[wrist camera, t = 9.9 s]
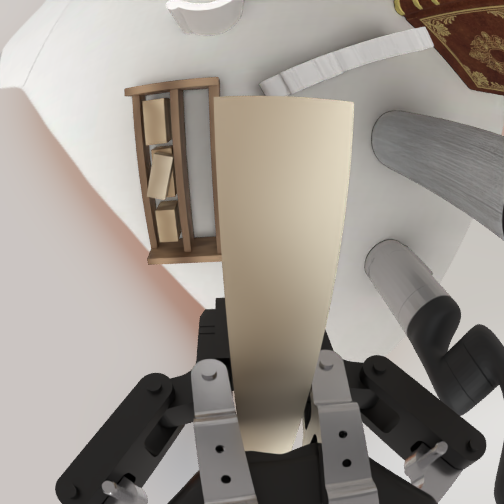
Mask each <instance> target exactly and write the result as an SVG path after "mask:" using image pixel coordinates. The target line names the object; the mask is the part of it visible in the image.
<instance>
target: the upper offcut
mask: <svg viewBox="0 0 504 504" xmlns="http://www.w3.org/2000/svg"><path fill="white" fill-rule="evenodd" d="M173 165H174V154H169V153H164V152H158V151H157V152H156V153H154V156H153V161H152V167H151V173H150V179H149V185H148V191H147V197H152V198H157V199H162V200H165V199H166V197H167V196H168V190H169V185H170V180H171V174H172V169H173Z"/></svg>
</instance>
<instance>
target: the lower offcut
mask: <svg viewBox="0 0 504 504" xmlns="http://www.w3.org/2000/svg"><path fill="white" fill-rule="evenodd" d="M157 151H158V152H164V153H169V154H174V152H173V145H171V146H161V147H155V148H154V149H152V150H151V152H152V161H153V156H154V153H156V152H157ZM176 194H177V186H176V175H175V164H174V165H173V169H172V174H171V180H170V185H169V190H168V196H167V197H175V196H176Z"/></svg>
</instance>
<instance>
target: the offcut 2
mask: <svg viewBox="0 0 504 504" xmlns="http://www.w3.org/2000/svg"><path fill="white" fill-rule="evenodd" d="M155 213H156V220H157V227H158V233H159V239H160V242H175V241H178V240H179V237H180V234H181V230H182V229H181V221H180V213H179V204H178V200H175V201H161V202H160V204H159V205H158V207H157V209H156V210H155Z"/></svg>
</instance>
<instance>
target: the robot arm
mask: <svg viewBox="0 0 504 504" xmlns="http://www.w3.org/2000/svg"><path fill="white" fill-rule="evenodd" d="M365 272H366V274H367V276H368V277H369V278H370V280H371V281H372V283H373V284H374V286H375V287H376V289H377V290H378V292H379V293H380V295H381V296H382V298H383V299H384V301H385V302H386V304H387V305H388V307H389V308H390V310H391V312H392V313H393V315H394V316H395V318H396V319H397V321H398V322H399V324H400V325H401V327H402V329H403V330H404V332H405V334H406V335H407V337H408V338H409V340H410V341H411V343H412V345H413V347H414V349H415V351H416V353H417V355H418V357H419V358H420V360H421V362H422V364H423V366H424V368H425V370H426V372H427V374H428V376H429V379H430V381H431V383H432V385H433V387H434V389H435V391H436V393H437V396H438V397H439V399H440V400H439V399H438V398H437V397H435V396H434V395H433V394H432V393H430V392H429V391H428V390H427V389H425V388H424V387H423V386H422V385H420V384H419V383H418V382H417V381H415V380H414V379H413V378H412V377H410V376H409V375H408V374H407V373H405V372H404V371H403V370H402V369H400V368H399V367H398V366H397V365H395V364H394V363H393V362H392V361H390V360H389V359H387V358H386V357H384V356H380V355H374V356H371V357H369V358H367V359H366V360H365V362H364V363H359V362H350V361H346V360H343V359H342V358H341V356H340V355H339V354H337V353H336V352H334V351H333V348H332V346H331V343H330V340H329V338H328V335H327V333H326V330H325V332H324V336H323V341H322V345H321V349H320V353H319V357H318V361H317V365H316V369H315V373H314V377H313V381H312V384H311V388H310V392H309V395H308V399H307V402H306V406H305V409H304V412H303V416H302V419H303V443H302V447H300V448H297V449H295V450H292V451H289V452H287V453H284V454H274V453H265V452H258V451H245V450H244V445H243V441H242V437H241V432H240V427H239V423H238V418H237V414H236V412H235V407H234V402H233V395H232V391H234V385H233V376H232V367H231V357H230V347H229V337H228V326H227V315H226V304H225V298H216V308H215V309H206V310H205V311H204V312H203V313H202V315H201V316H200V322H199V335H198V347H197V361H196V364H195V366H194V367H193V369H192V370H191V371H190V372H188V373H186V374H184V375H182V376H179V377H175V378H171V379H170V378H169V377H167V376H166V375H164V374H161V373H151V374H148V375H146V376H144V378H142V379H141V380H140V381H139V382H138V384H137V385H136V386H135V387H134V389H133V390H132V391H131V392H130V393H129V395H128V396H127V397H126V398H125V399H124V401H123V402H122V403H121V404H120V405H119V407H118V408H117V409H116V410H115V411H114V413H113V414H112V415H111V416H110V417H109V419H108V420H107V421H106V422H105V424H104V425H103V426H102V427H101V428H100V429H99V431H98V432H97V433H96V434H95V436H94V437H93V438H92V439H91V440H90V441H89V443H88V444H87V445H86V446H85V448H84V449H83V450H82V451H81V452H80V454H79V455H78V456H77V457H76V459H75V460H74V461H73V462H72V463H71V465H70V466H69V467H68V468H67V469H66V471H65V472H64V473H63V474H62V475H61V477H60V478H59V479H58V481H57V483H56V487H55V490H56V495H57V497H58V499H59V500H60V502H61V503H62V504H147V503H148V499H147V495H146V493H145V491H144V490H143V489H142V487H143V485H144V484H145V482H146V481H147V480H148V478H149V477H150V475H151V474H152V473H153V471H154V470H155V468H156V467H157V465H158V464H159V462H160V461H161V460H162V458H163V457H164V455H165V454H166V452H167V451H168V449H169V448H170V446H171V445H172V443H173V442H174V441H175V439H176V438H177V436H178V435H179V433H180V432H181V430H182V429H183V427H184V426H185V424H187V423H191V422H194V433H195V441H196V449H197V457H198V464H199V471H198V472H197V473H196V474H195V475H194V476H193V477H192V478H191V479H190V480H189V481H188V482H187V484H186V485H185V486H184V487H183V488H182V489H181V490H180V491H179V492H178V493H177V494H176V495H175V496H174V497H173V498H172V499H171V500H170V502H169V503H168V504H438V502H439V501H440V500H441V498H442V497H443V496H444V495H445V493H446V492H447V491H448V489H449V488H450V487H451V486H452V484H453V483H454V481H455V480H456V479H457V477H458V476H459V474H460V473H461V472H462V470H463V469H465V468H466V467H468V466H469V465H471V464H472V463H474V462H475V461H477V460H478V459H480V458H481V457H482V456H483V454H484V453H485V450H486V440H485V437H484V436H483V435H482V434H481V433H480V432H479V431H478V430H476V429H475V428H474V427H473V426H471V425H470V424H469V423H468V422H467V421H465V420H464V419H463V418H461V417H460V416H461V415H463V414H465V413H466V412H468V411H469V410H470V409H472V408H473V407H474V406H475V405H476V404H477V403H479V402H480V401H481V400H482V399H484V398H485V397H486V396H487V395H488V394H489V393H490V392H491V391H492V390H494V388H496V387H497V386H498V385H500V387H501V390H502V393H503V398H504V346H503V345H502V343H501V342H500V341H499V339H498V338H497V337H496V336H495V334H494V333H493V332H492V331H491V330H490V329H488V328H487V327H485V326H484V325H480V324H479V325H475V326H474V327H473V328H472V329H470V330H469V331H468V333H466V334H465V335H464V336H463V337H462V338H461V339H460V340H459V341H458V342H457V343H456V344H455V345H454V346H453V347H452V348H451V349H450V350H449V351H448V347H449V344H450V342H451V339H452V337H453V335H454V333H455V331H456V330H457V328H458V325H459V323H460V319H461V312H460V308H459V306H458V305H457V303H456V302H455V301H454V300H453V299H452V298H451V296H450V295H449V294H448V293H447V292H446V291H445V289H444V288H443V287H442V286H441V285H440V284H439V283H438V282H437V281H436V280H435V278H434V277H433V276H432V271H431V270H430V269H429V268H428V267H427V266H426V265H425V264H424V263H423V262H422V261H421V259H420V258H419V257H418V256H417V255H416V254H415V253H414V252H413V251H412V250H411V249H410V248H409V247H408V246H403V245H402V244H401V243H400V242H398V241H396V240H386V241H383V242H381V243H379V244H378V245H376V246H375V247H374V248H373V249H372V250H371V251H370V253H369V254H368V256H367V258H366V261H365ZM447 351H448V352H447ZM362 422H363V423H364V424H365V425H366V426H368V427H369V428H370V429H371V430H372V431H373V432H374V433H375V434H376V435H377V436H378V437H380V439H382V440H383V441H384V442H385V443H386V444H387V445H388V446H389V447H390V448H392V449H393V450H394V451H395V452H396V453H397V454H398V455H399V456H400V457H402V458H403V459H404V460H405V464H404V469H405V474H406V475H407V476H409V478H410V479H411V483H412V484H411V483H409V482H407V481H406V480H404V479H402V478H401V477H399V476H398V475H396V474H394V473H393V472H391V471H389V470H388V469H386V468H385V467H383V466H382V465H380V464H379V463H377V462H375V461H374V460H373V459H371V458H370V457H368V451H367V446H366V440H365V435H364V430H363V424H362ZM494 497H495V501H496V504H504V443H503V448H502V453H501V458H500V462H499V466H498V471H497V476H496V481H495V488H494Z"/></svg>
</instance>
